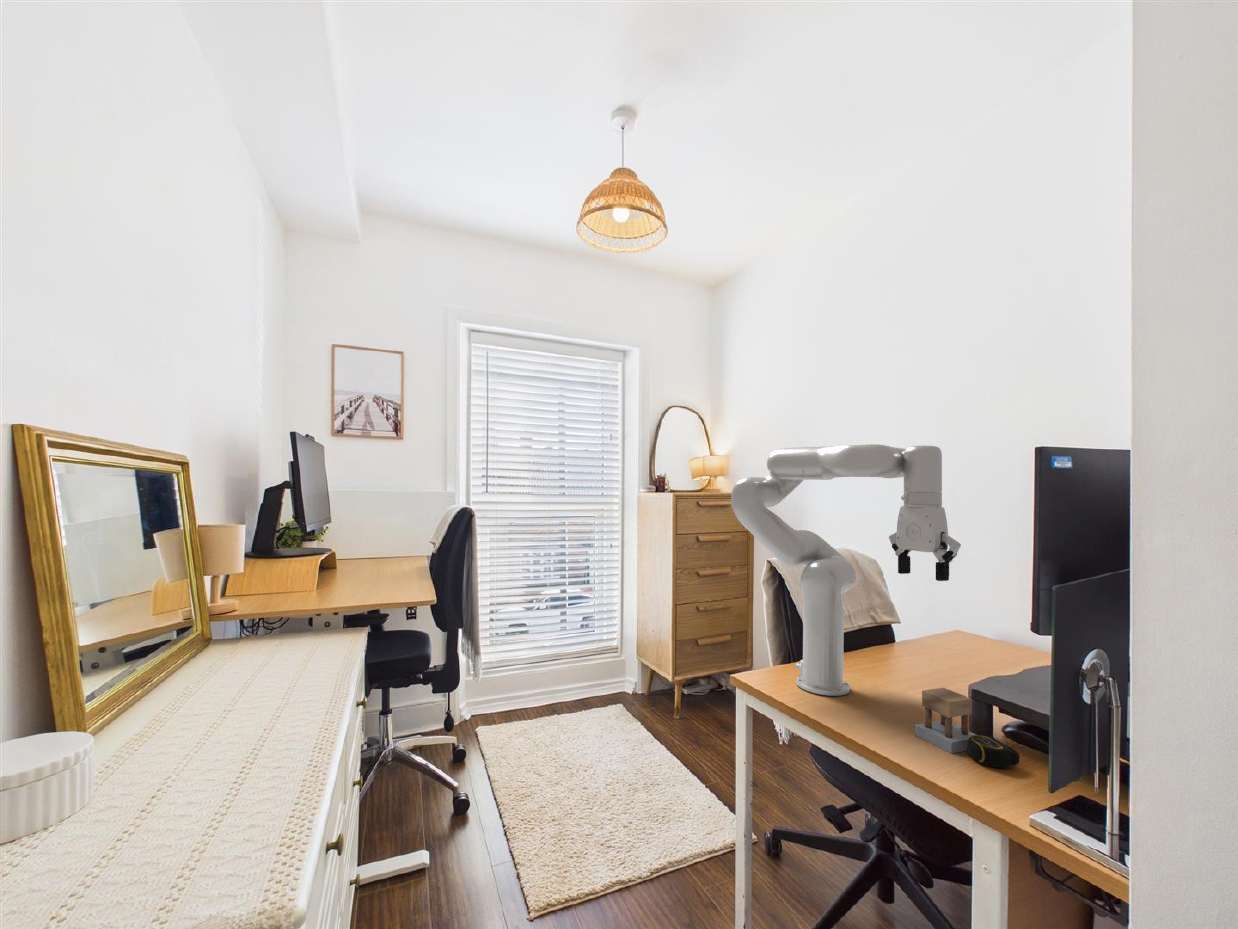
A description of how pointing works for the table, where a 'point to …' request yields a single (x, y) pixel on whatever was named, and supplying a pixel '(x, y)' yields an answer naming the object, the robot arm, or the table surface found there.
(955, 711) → the stool
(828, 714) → the table surface
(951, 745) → the plinth
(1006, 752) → the tape measure
